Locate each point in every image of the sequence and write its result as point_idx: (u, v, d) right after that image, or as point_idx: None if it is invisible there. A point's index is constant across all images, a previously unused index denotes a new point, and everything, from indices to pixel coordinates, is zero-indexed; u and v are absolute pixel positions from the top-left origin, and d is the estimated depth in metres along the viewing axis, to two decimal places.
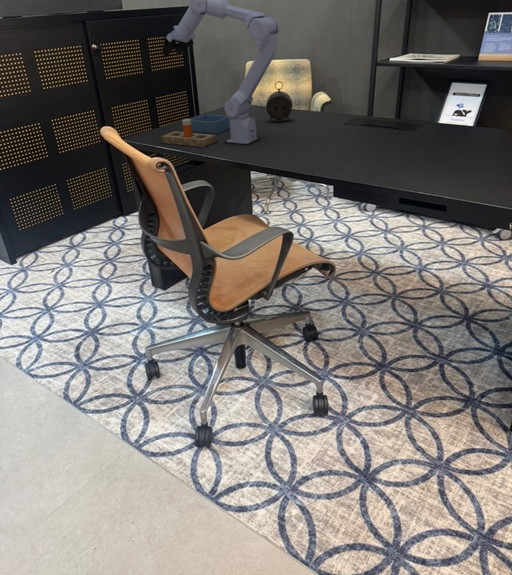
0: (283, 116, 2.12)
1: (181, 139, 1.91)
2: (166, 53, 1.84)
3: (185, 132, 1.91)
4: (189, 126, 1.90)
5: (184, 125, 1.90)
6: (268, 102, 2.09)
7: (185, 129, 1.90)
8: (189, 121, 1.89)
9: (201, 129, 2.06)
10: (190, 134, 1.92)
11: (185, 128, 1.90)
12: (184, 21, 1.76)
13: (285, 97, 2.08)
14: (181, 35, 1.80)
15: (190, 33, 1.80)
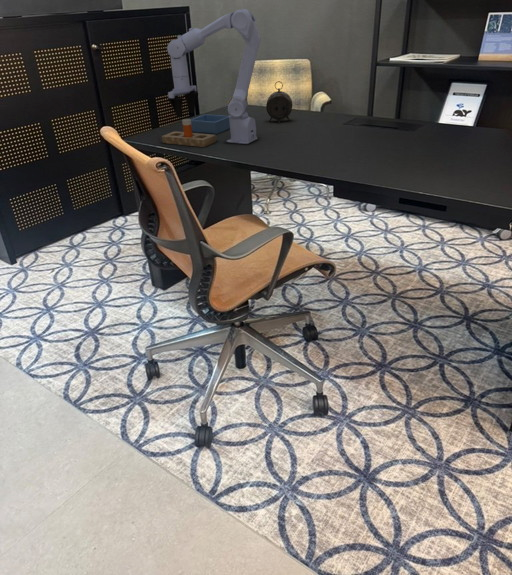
0: (283, 116, 2.12)
1: (181, 139, 1.91)
2: (179, 113, 1.85)
3: (185, 132, 1.91)
4: (189, 126, 1.90)
5: (184, 125, 1.90)
6: (268, 102, 2.09)
7: (185, 129, 1.90)
8: (189, 121, 1.89)
9: (201, 129, 2.06)
10: (190, 134, 1.92)
11: (185, 128, 1.90)
12: (176, 74, 1.79)
13: (285, 97, 2.08)
14: (180, 88, 1.82)
15: (185, 80, 1.81)
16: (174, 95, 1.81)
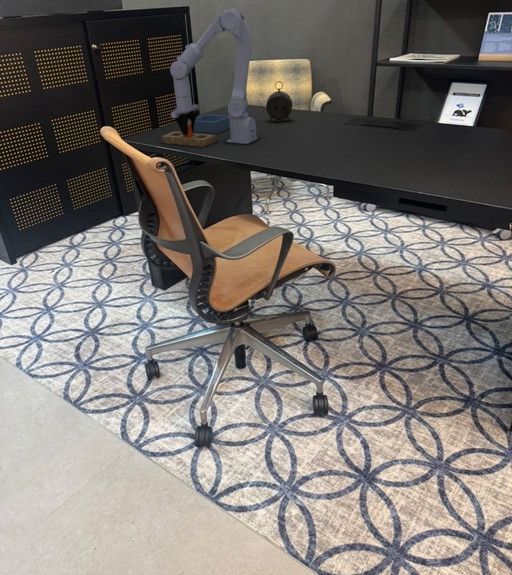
0: (283, 116, 2.12)
1: (181, 139, 1.91)
2: (185, 131, 1.90)
3: None
4: (189, 126, 1.90)
5: None
6: (268, 102, 2.09)
7: None
8: (189, 121, 1.89)
9: (201, 129, 2.06)
10: (190, 134, 1.92)
11: None
12: (179, 94, 1.83)
13: (285, 97, 2.08)
14: (182, 107, 1.85)
15: (188, 100, 1.85)
16: (177, 115, 1.85)
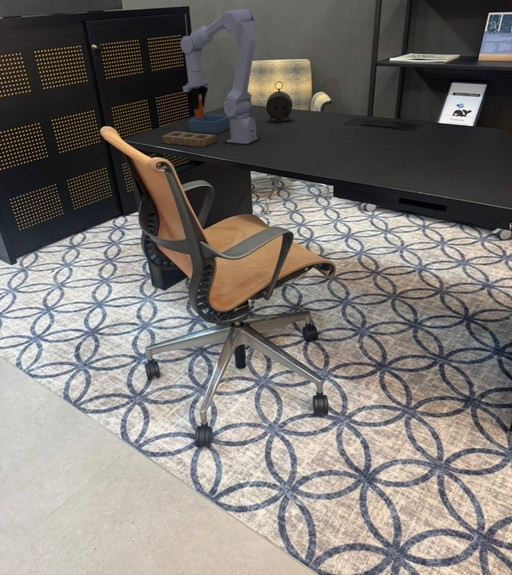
0: (283, 116, 2.12)
1: (181, 139, 1.91)
2: (196, 105, 1.95)
3: None
4: (200, 101, 1.96)
5: None
6: (268, 102, 2.09)
7: None
8: (200, 96, 1.95)
9: (201, 129, 2.06)
10: (201, 109, 1.97)
11: None
12: (188, 69, 1.89)
13: (285, 97, 2.08)
14: (194, 82, 1.91)
15: (199, 75, 1.90)
16: (188, 89, 1.90)
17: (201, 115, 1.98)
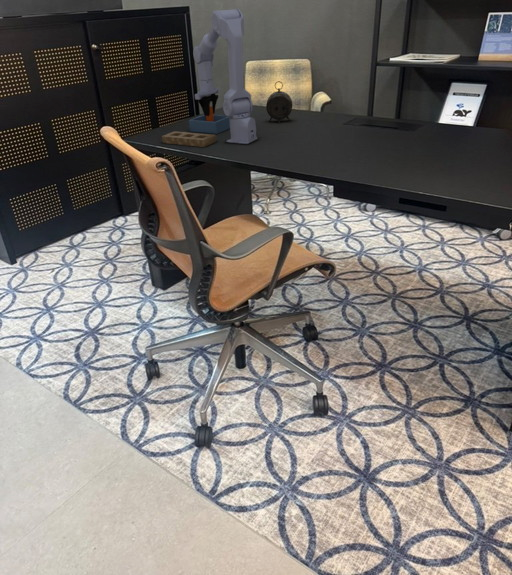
0: (283, 116, 2.12)
1: (181, 139, 1.91)
2: (207, 112, 2.05)
3: None
4: (210, 108, 2.05)
5: None
6: (268, 102, 2.09)
7: None
8: (211, 103, 2.04)
9: (201, 129, 2.06)
10: (211, 115, 2.07)
11: None
12: None
13: (285, 97, 2.08)
14: (205, 90, 2.00)
15: (210, 83, 1.99)
16: (200, 97, 2.00)
17: (212, 121, 2.08)
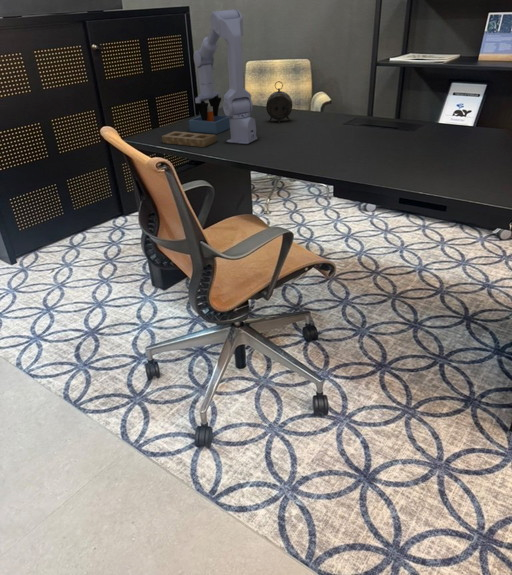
0: (283, 116, 2.12)
1: (181, 139, 1.91)
2: (205, 117, 2.04)
3: (207, 118, 2.07)
4: (211, 113, 2.06)
5: None
6: (268, 102, 2.09)
7: (208, 115, 2.06)
8: (211, 108, 2.05)
9: (201, 129, 2.06)
10: (212, 120, 2.08)
11: (207, 114, 2.06)
12: (199, 81, 2.00)
13: (285, 97, 2.08)
14: (205, 93, 2.01)
15: (211, 87, 2.00)
16: None
17: None
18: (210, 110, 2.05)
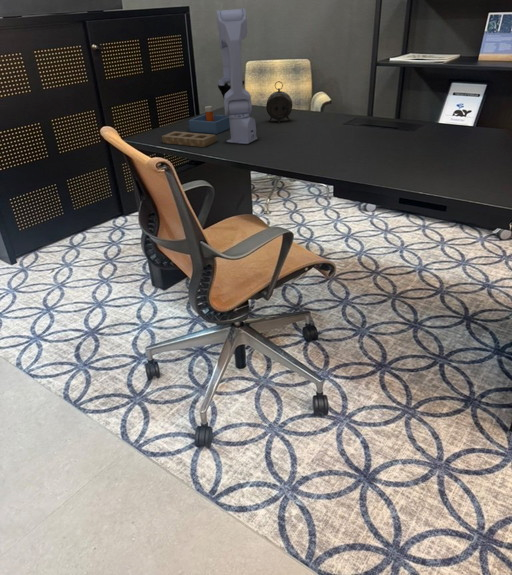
0: (283, 116, 2.12)
1: (181, 139, 1.91)
2: None
3: (207, 118, 2.07)
4: (211, 113, 2.06)
5: (206, 112, 2.06)
6: (268, 102, 2.09)
7: (208, 115, 2.06)
8: (211, 108, 2.05)
9: (201, 129, 2.06)
10: (212, 120, 2.08)
11: (207, 114, 2.06)
12: None
13: (285, 97, 2.08)
14: (229, 76, 1.98)
15: None
16: (224, 83, 1.98)
17: None
18: (210, 110, 2.05)
